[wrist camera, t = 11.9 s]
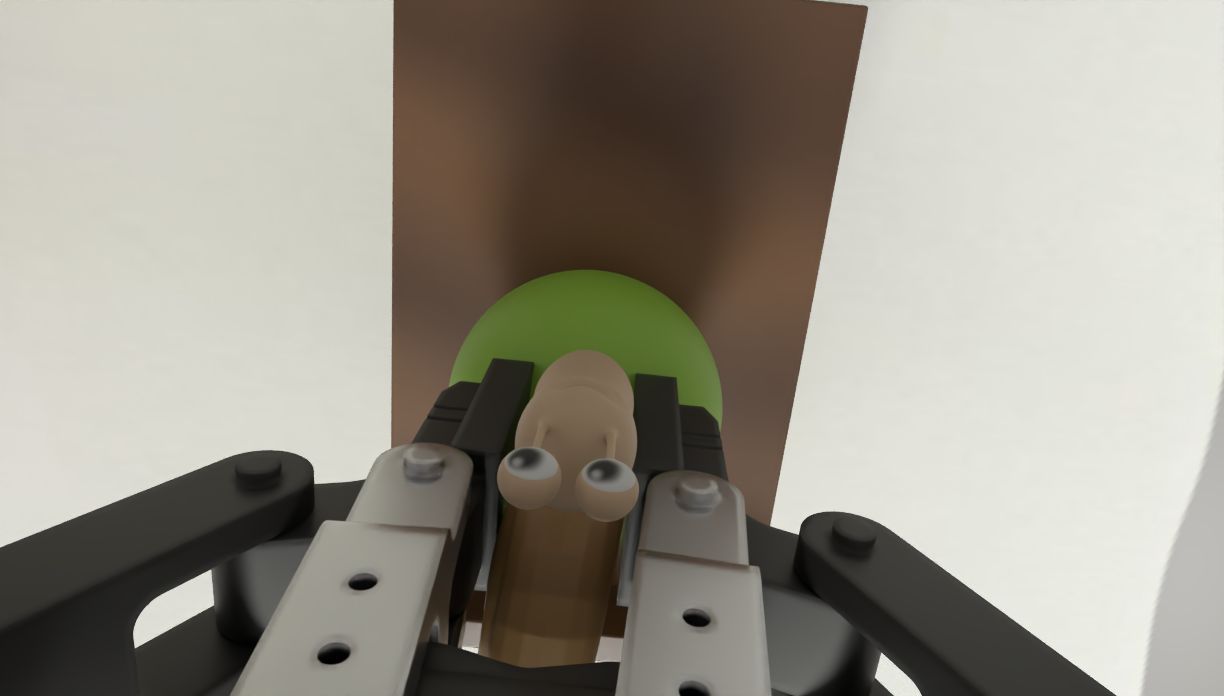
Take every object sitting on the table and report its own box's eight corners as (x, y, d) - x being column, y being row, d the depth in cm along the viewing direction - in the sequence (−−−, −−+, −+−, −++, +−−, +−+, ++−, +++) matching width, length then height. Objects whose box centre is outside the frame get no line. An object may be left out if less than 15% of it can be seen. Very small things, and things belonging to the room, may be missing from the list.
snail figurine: (742, 218, 18) (904, 520, 7) (688, 477, 20) (739, 1029, 9) (493, 178, 18) (232, 418, 7) (466, 443, 20) (237, 956, 9)
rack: (496, -10, 28) (360, -55, 15) (780, 19, 28) (897, 1, 15) (478, 399, 33) (365, 636, 20) (716, 425, 33) (761, 679, 20)
